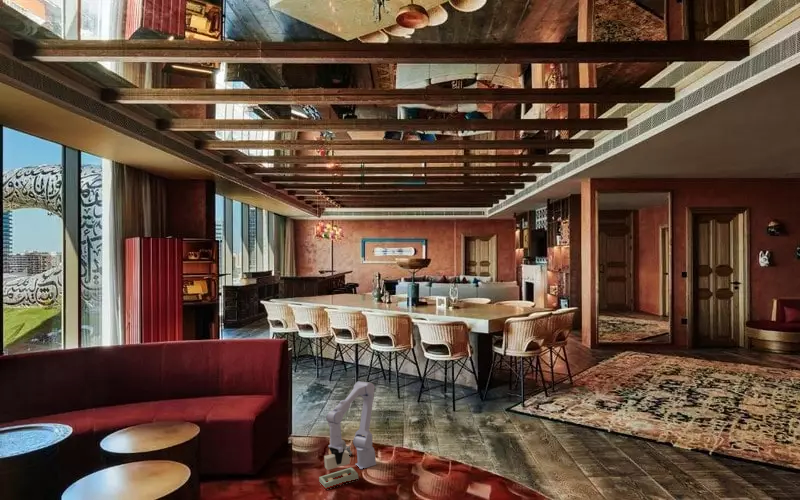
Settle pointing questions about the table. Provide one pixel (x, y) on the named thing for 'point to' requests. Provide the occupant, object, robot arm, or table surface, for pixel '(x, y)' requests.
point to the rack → (336, 481)
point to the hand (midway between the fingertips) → (337, 462)
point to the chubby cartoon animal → (346, 447)
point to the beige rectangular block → (331, 460)
